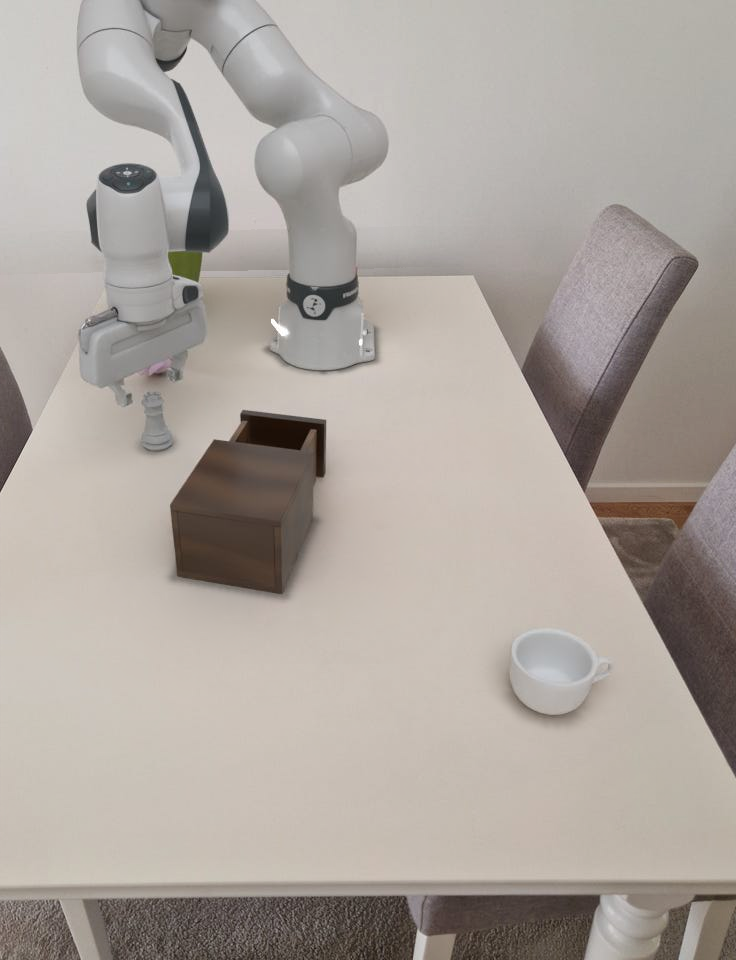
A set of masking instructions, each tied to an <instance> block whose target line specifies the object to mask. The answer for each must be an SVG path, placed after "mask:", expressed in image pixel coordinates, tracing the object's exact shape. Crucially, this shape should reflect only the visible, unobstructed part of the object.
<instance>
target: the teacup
mask: <svg viewBox="0 0 736 960" xmlns="http://www.w3.org/2000/svg"><path fill="white" fill-rule="evenodd" d="M602 665H608V667H607V669H605V670H604V671H603V672H601V673H598V674H597V671H598V669H599V668H600V667H601V666H602ZM508 669H509V680H510V684H511V687H512V690H513V692H514V694H515V695H516V697H517V698H518V699H519V700H520V702H522V703H523V704H524V705H525V706H526V707H527V708H529V709H531V710H533V711H535V712H537V713H540V714H544V715H549V716H559V715H565V714H568V713H570V712H573V711H574V710H576V709H577V708H579V707H580V706H581V705H582V703H583V702H584V700H585V699H586V697H587V696H588V694H589V692H590V690H591V688H592V686H593V684H596V683H598V682H600V681H603V680H604V679H607V678H608V677H610V676H611V675H612V674H613V672H614V670H615V665H614V663H613V661H612V660H611V659H610V658H608V657H604V656H603V657H602V656H601V657H600V656H599V657H598V656H597V654H596V652H595V650H594V648H592V646H591V645H590V644H589V643H588V642H587V641H585V640H584V639H582V638H581V637H580V636H578V635H576V634H574V633H572V632H569V631H566V630H563V629H559V628H553V627H538V628H532V629H528V630H526V631H524V632H522V633H520V634H519V635H518V636H517V637H516V638H515V639H514V641H513V642H512V644H511V650H510V656H509V668H508Z"/></svg>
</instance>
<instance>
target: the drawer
mask: <svg viewBox="0 0 736 960" xmlns="http://www.w3.org/2000/svg"><path fill="white" fill-rule="evenodd" d="M239 417H240V419H239V421H240V423H239V424H238V426H237V428H236V429H235V431H234V432H233V434H232V435H231V437H230V439H229V440H228V441H231V442H239V443H247V444H254V445H262V446H270V447H278V448H285V449H293V450H301V451H308V452H313V488H314V486H315V485H316V482H317V478H325V475H326V474H327V473H326V472H327V471H326V469H327V468H326V467H327V465H326V464H327V419H323V418H316V417H315V418H314V417H308V416H299V415H292V414H291V415H290V414H282V413H274V412H273V413H272V412H266V411H265V412H264V411H257V410H248V409H242V410H241V411H240V414H239Z"/></svg>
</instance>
